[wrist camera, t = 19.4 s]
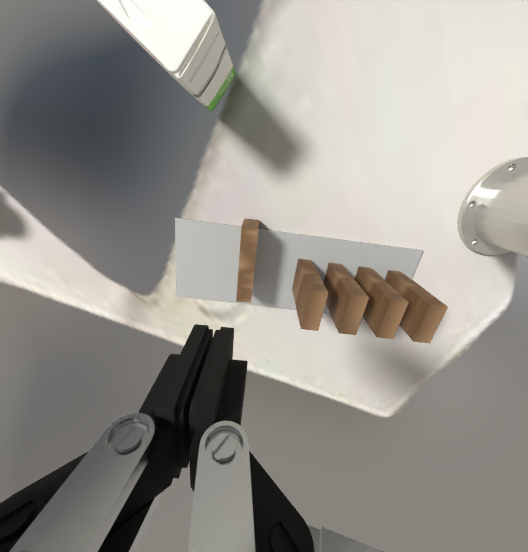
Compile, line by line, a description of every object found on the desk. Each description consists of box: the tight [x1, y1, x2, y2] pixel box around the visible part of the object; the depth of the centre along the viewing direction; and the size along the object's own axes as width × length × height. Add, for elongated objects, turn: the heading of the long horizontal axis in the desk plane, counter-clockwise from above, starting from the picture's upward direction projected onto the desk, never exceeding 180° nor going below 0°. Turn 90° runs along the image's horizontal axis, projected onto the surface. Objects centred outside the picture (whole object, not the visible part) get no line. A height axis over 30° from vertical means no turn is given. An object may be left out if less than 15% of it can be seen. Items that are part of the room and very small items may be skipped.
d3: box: [323, 263, 369, 335], centre depth 32 cm, size 2×5×10 cm, turn 173°
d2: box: [354, 266, 409, 339], centre depth 32 cm, size 2×5×10 cm, turn 172°
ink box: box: [97, 0, 236, 111], centre depth 21 cm, size 9×5×12 cm, turn 49°
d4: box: [292, 259, 328, 331], centre depth 32 cm, size 2×5×10 cm, turn 172°
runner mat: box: [175, 218, 423, 317], centre depth 36 cm, size 35×12×1 cm, turn 82°
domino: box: [236, 219, 259, 303], centre depth 33 cm, size 2×5×10 cm
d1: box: [385, 270, 448, 343], centre depth 32 cm, size 2×5×10 cm, turn 173°
